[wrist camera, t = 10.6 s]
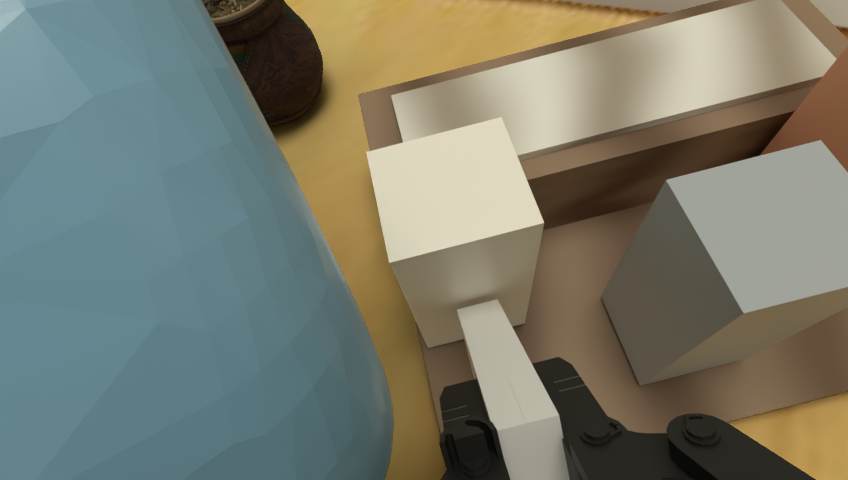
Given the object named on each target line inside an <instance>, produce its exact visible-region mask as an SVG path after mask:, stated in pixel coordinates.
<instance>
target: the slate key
mask: <svg viewBox="0 0 848 480" xmlns="http://www.w3.org/2000/svg"><path fill="white" fill-rule="evenodd" d="M601 298H602V300H603V302H604V305H605V307H606V309H607V311H608V314H609V316H610V318H611V321H612V323H613V325H614V328H615V330H616V332H617V334H618V337H619V339H620V341H621V344H622V346H623V348H624V351H625V353H626V355H627V358H628V360H629V362H630V364H631V367H632V369H633V371H634V374H635V376H636V378H637V381H638V383H639V385H640V386H641V385H645V384H649V383H653V382H657V381H661V380H665V379H669V378H673V377H677V376H681V375H685V374H689V373H693V372H696V371H700V370H704V369H708V368H712V367H716V366H720V365H724V364H728V363H732V362H736V361H740V360H744V359H747V358H749V357H751V356H753V355H755V354H757V353H759V352H760V351H762V350H764V349H766V348H768V347H770V346H772V345H774V344H776V343H778V342H780V341H782V340H784V339H786V338H788V337H790V336H792V335H794V334H796V333H798V332H800V331H802V330H803V329H805V328H807V327H809V326H811V325H813V324H815V323H817V322H819V321H821V320H823V319H825V318H827V317H829V316H831V315H833V314H835V313H837V312H839V311H841V310H843V309H844V308H846V307H848V172H847V171H846V170H845V169H844V168H843V166H842V165H841V164H840V163H839V161H838V160H837V159H836V158H835V157H834V155H833V154H832V153H831V152H830V150H829V149H828V148H827V147H826V146H825V144H824V143H823V142H822V141H821V140H819V141H815V142H811V143H807V144H803V145H799V146H796V147H792V148H788V149H784V150H780V151H776V152H772V153H768V154H765V155H761V156H757V157H753V158H749V159H745V160H741V161H737V162H734V163H730V164H726V165H722V166H718V167H714V168H710V169H706V170H702V171H699V172H695V173H691V174H687V175H683V176H679V177H675V178H671V179H668V180H666V181H665V183H664V184H663V186H662V188H661V190H660V192H659V193H658V195H657V197H656V199H655V200H654V202H653V204H652V206H651V208H650V209H649V211H648V213H647V215H646V216H645V218H644V220H643V222H642V224H641V225H640V227H639V229H638V231H637V232H636V234H635V236H634V238H633V240H632V241H631V243H630V245H629V247H628V248H627V250H626V252H625V254H624V256H623V257H622V259H621V261H620V263H619V264H618V266H617V268H616V270H615V272H614V273H613V275H612V277H611V279H610V280H609V282H608V284H607V286H606V288H605V289H604V291H603V293H602V295H601Z"/></svg>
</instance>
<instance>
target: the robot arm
mask: <svg viewBox="0 0 848 480" xmlns="http://www.w3.org/2000/svg"><path fill="white" fill-rule="evenodd" d="M457 312H458V316H459V320H460V324H461V328H462V332H463V336H464V340H465V344H466V348H467V352H468V356H469V360H470V364H471V368H472V372H473V376H474V380H470V381H466V382H462V383H458V384H454V385H450V386H446V387H444V389H443V391H442V394H441V396H440V398H439V400H440V407H441V414H442V420H443V427H444V431H443V432H442V434H441V435H440V443H439V444H440V447H441V451H442V454H443V458H444V461H445V465H446V468H447V470H446V473H445V474H444V476H443V477H442V479H441V480H815V479H814V478H812V477H811V476H809V475H808V474H806V473H805V472H803V471H801V470H800V469H798V468H797V467H795V466H794V465H792V464H791V463H789V462H787V461H786V460H784V459H783V458H781V457H780V456H778V455H777V454H775V453H773V452H772V451H770V450H769V449H767V448H766V447H764V446H762V445H761V444H759V443H758V442H756V441H755V440H753V439H752V438H750V437H748V436H747V435H745V434H744V433H742V432H741V431H739V430H738V429H736V428H734V427H733V426H731V425H730V424H728V423H727V422H725V421H723V420H721V419H718V418H716V417H714V416H710V415H706V414H701V413H693V414H684V415H681V416H677V417H676V418H674V419H673V420H672V421H670V422H669V424H668V427H667V429H666V431H667V433H638V432H633V431H629V430H627V429H626V428H625V427H624V426H623V425H622V424H621V423H620V422H619V421H617V420H615V419H613V418H610V417H608V416H607V415H606V413H605V412H604V410H603V409H602V408H601V406H600V405H599V403H598V402H597V400H596V399H595V397H594V396H593V394H592V393H591V391H590V390H589V389H588V387H587V386H586V385H585V383H584V381H583V380H582V378H581V377H580V376H579V374H578V373H577V371H576V370H575V368H574V367H573V365H572V364H571V363H569V362H567V361H565V360H564V359H562V358H560V357H556V358H552V359H548V360H544V361H540V362H536V363H531V361H530V360H529V358H528V356H527V354H526V352H525V350H524V348H523V346H522V344H521V343H520V341H519V339H518V337H517V335H516V333H515V331H514V329H513V328H512V326H511V324H510V322H509V320H508V318H507V316H506V314H505V313H504V311H503V309H502V307H501V305H500V303H499V301H498V299H496V300H492V301H488V302H484V303H481V304H477V305H473V306H469V307H465V308H461V309H457ZM393 428H394V420H393V408H392V401H391V396H390V392H389V387H388V383H387V380H386V376H385V372H384V369H383V366H382V363H381V361H380V358H379V356H378V353H377V351H376V348H375V346H374V343H373V341H372V338H371V336H370V334H369V331H368V329H367V327H366V324H365V322H364V320H363V317H362V315H361V313H360V310H359V308H358V306H357V303H356V301H355V299H354V297H353V295H352V293H351V291H350V289H349V286H348V284H347V282H346V280H345V278H344V276H343V274H342V271H341V269H340V267H339V265H338V263H337V261H336V259H335V257H334V255H333V253H332V251H331V249H330V247H329V245H328V243H327V241H326V239H325V237H324V235H323V233H322V231H321V229H320V227H319V225H318V223H317V220H316V218H315V216H314V214H313V212H312V210H311V208H310V206H309V204H308V202H307V200H306V198H305V196H304V194H303V192H302V190H301V188H300V186H299V184H298V182H297V180H296V178H295V176H294V174H293V172H292V170H291V169H290V167H289V165H288V163H287V161H286V159H285V157H284V155H283V153H282V151H281V149H280V147H279V145H278V143H277V142H276V140H275V138H274V136H273V134H272V132H271V130H270V128H269V126H268V124H267V122H266V120H265V118H264V116H263V114H262V113H261V111H260V109H259V107H258V105H257V103H256V101H255V99H254V97H253V95H252V93H251V91H250V90H249V88H248V86H247V84H246V82H245V80H244V78H243V77H242V75H241V73H240V71H239V69H238V67H237V65H236V64H235V62H234V60H233V58H232V56H231V54H230V52H229V50H228V49H227V47H226V45H225V43H224V41H223V39H222V37H221V36H220V34H219V32H218V30H217V28H216V26H215V24H214V22H213V21H212V19H211V17H210V15H209V13H208V11H207V9H206V8H205V6H204V4H203V2H202V0H0V480H385V477H386V473H387V470H388V466H389V462H390V457H391V452H392V441H393Z"/></svg>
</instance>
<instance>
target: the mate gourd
mask: <svg viewBox="0 0 848 480" xmlns="http://www.w3.org/2000/svg"><path fill="white" fill-rule="evenodd" d="M202 2H203V4H204V6H205V8H206V9H207V11H208V13H209V15H210V17H211V19H212V21H213V22H214V24H215V26H216V28H217V30H218V32H219V34H220V36H221V37H222V39H223V41H224V43H225V45H226V47H227V49H228V50H229V52H230V54H231V56H232V58H233V60H234V62H235V64H236V65H237V67H238V69H239V71H240V73H241V75H242V77H243V78H244V80H245V82H246V84H247V86H248V88H249V90H250V91H251V93H252V95H253V97H254V99H255V101H256V103H257V105H258V107H259V109H260V111H261V113H262V114H263V116H264V118H265V120H266V122H267V124H268V125H277V124H282V123H286V122H288V121H291V120H293V119H295V118H297V117H298V116H300V115H302V114H303V113H304V112H306V111H307V110H308V109H309V108H310V107H311V106H312V105H313V104H314V102H315V101H316V99H317V98H318V96H319V94H320V91H321V90H320V88H321V82H322V74H323V72H322V71H323V61H322V55H321V52H320V50H319V47H318V44H317V42H316V39H315V37H314V35H313V34H312V31H311V29H310V28H308V26H307V24H306V23H305V22H304V21H303V20H302V19H301V18H300V17H299V16H298V15H297V14H296V13H295V12H294V11H293V10H292V9H291V8H290V7H289V6H288V5H287V4H286V3H285V1H284V0H202Z"/></svg>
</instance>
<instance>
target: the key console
mask: <svg viewBox="0 0 848 480" xmlns="http://www.w3.org/2000/svg"><path fill="white" fill-rule="evenodd" d="M847 46H848V39H847V38H846V37H845V36H844V35H843V34H842V33H841V32H840V31H839V30H838V29H837V28H836V27H835V26H834V25H833V24H832V23H831V22H830V21H829V20H828V19H827V18H826V17H825V16H824V15H823V14H822V13H821V12H820V11H819V10H818V9H817V8H816V7H815V6H814V5H813V4H812V3H811V2H810V1H809V0H719V1H715V2H711V3H707V4H703V5H700V6H696V7H692V8H688V9H685V10H681V11H676V12H673V13H669V14H665V15H661V16H657V17H654V18H650V19H646V20H642V21H638V22H634V23H631V24H627V25H623V26H619V27H615V28H611V29H608V30H604V31H600V32H596V33H592V34H588V35H585V36H581V37H577V38H573V39H569V40H565V41H562V42H558V43H554V44H550V45H546V46H542V47H539V48H535V49H531V50H527V51H523V52H519V53H516V54H512V55H508V56H504V57H500V58H496V59H493V60H489V61H485V62H481V63H477V64H473V65H470V66H466V67H462V68H458V69H454V70H450V71H447V72H443V73H439V74H435V75H431V76H427V77H424V78H420V79H416V80H412V81H408V82H404V83H401V84H397V85H393V86H389V87H385V88H381V89H378V90H374V91H370V92H366V93H362V94H358V97H359V102H360V106H361V111H362V116H363V121H364V125H365V130H366V135H367V139H368V144H369V149H370V151H372V150H376V149H380V148H384V147H388V146H392V145H395V144H399V143H403V142H407V141H411V140H415V139H418V138H422V137H426V136H430V135H434V134H438V133H442V132H445V131H449V130H453V129H457V128H461V127H465V126H468V125H472V124H476V123H480V122H484V121H488V120H492V119H495V118H499V117H502V119H503V122H504V124H505V127H506V129H507V132H508V134H509V137H510V139H511V142H512V144H513V147H514V149H515V152H516V154H517V157H518V159H519V162H520V164H521V166H522V169H523V171H524V174H525V176H526V179H527V181H528V184H529V186H530V189H531V191H532V194H533V196H534V199H535V201H536V204H537V206H538V209H539V211H540V214H541V216H542V218H543V221H544V227H543V232H542V237H541V242H540V247H539V253H538V258H537V263H536V268H535V273H534V278H533V283H532V288H531V294H530V299H529V304H528V309H527V314H526V319H525V323H524V324H521V325H517V326H513V327H512V328H513V329H514V331H515V333H516V335H517V337H518V339H519V341H520V343H521V344H522V346H523V348H524V350H525V352H526V354H527V356H528V358H529V360H530V361H531V363H536V362H540V361H544V360H548V359H552V358H556V357H560V358H562V359H564V360H565V361H567V362H569V363H571V364H572V365H573V367H574V368H575V370H576V371H577V373H578V374H579V376H580V377H581V378H582V380H583V381H584V383H585V385H586V386H587V387H588V389H589V390H590V391H591V393H592V394H593V396H594V397H595V399H596V400H597V402H598V403H599V405H600V406H601V408H602V409H603V410H604V412H605V413H606V415H607V416H608V417H610V418H613V419H615V420H617V421H619V422H620V423H621V424H622V425H623V426H624V427H625V428H626V429H627V430H629V431H633V432H638V433H667V431H666V429H667V427H668V424H669V422H670V421H672V420H673V419H674V418H676V417H677V416H681V415H684V414H693V413H701V414H706V415H710V416H714V417H716V418H718V419H721V420H723V421H725V422H730V421H734V420H738V419H741V418H745V417H749V416H753V415H757V414H761V413H765V412H769V411H773V410H777V409H781V408H785V407H789V406H793V405H797V404H801V403H805V402H809V401H813V400H817V399H821V398H824V397H828V396H832V395H836V394H840V393H844V392H848V307H846V308H844V309H843V310H841V311H839V312H837V313H835V314H833V315H831V316H829V317H827V318H825V319H823V320H821V321H819V322H817V323H815V324H813V325H811V326H809V327H807V328H805V329H803V330H802V331H800V332H798V333H796V334H794V335H792V336H790V337H788V338H786V339H784V340H782V341H780V342H778V343H776V344H774V345H772V346H770V347H768V348H766V349H764V350H762V351H760V352H759V353H757V354H755V355H753V356H751V357H749V358H747V359H744V360H740V361H736V362H732V363H728V364H724V365H720V366H716V367H712V368H708V369H704V370H700V371H696V372H693V373H689V374H685V375H681V376H677V377H673V378H669V379H665V380H661V381H657V382H653V383H649V384H645V385H641V386H640V385H639V383H638V381H637V378H636V376H635V374H634V371H633V369H632V367H631V364H630V362H629V360H628V358H627V355H626V353H625V351H624V348H623V346H622V344H621V341H620V339H619V337H618V334H617V332H616V330H615V328H614V325H613V323H612V321H611V318H610V316H609V314H608V311H607V309H606V307H605V305H604V302H603V300H602V298H601V295H602V293H603V291H604V289H605V288H606V286H607V284H608V282H609V280H610V279H611V277H612V275H613V273H614V272H615V270H616V268H617V266H618V264H619V263H620V261H621V259H622V257H623V256H624V254H625V252H626V250H627V248H628V247H629V245H630V243H631V241H632V240H633V238H634V236H635V234H636V232H637V231H638V229H639V227H640V225H641V224H642V222H643V220H644V218H645V216H646V215H647V213H648V211H649V209H650V208H651V206H652V204H653V202H654V200H655V199H656V197H657V195H658V193H659V192H660V190H661V188H662V186H663V184H664V183H665V181H666V180H668V179H671V178H675V177H679V176H683V175H687V174H691V173H695V172H699V171H702V170H706V169H710V168H714V167H718V166H722V165H726V164H730V163H734V162H737V161H741V160H745V159H749V158H753V157H757V156H759V155H760V154H761V153H762V152H763V151H764V149H765V148H766V147H767V146H768V144H769V143H770V142H771V141H772V139H773V138H774V137H775V136H776V134H777V133H778V132H779V131H780V129H781V128H782V127H783V126H784V124H785V123H786V122H787V121H788V119H789V118H790V117H791V116H792V114H793V113H794V112H795V111H796V109H797V108H798V107H799V106H800V104H801V103H802V102H803V101H804V99H805V98H806V97H807V96H808V94H809V93H810V92H811V91H812V89H813V88H814V87H815V86H816V84H817V83H818V82H819V81H820V79H821V78H822V77H823V76H824V74H825V73H826V72H827V71H828V69H829V68H830V67H831V66H832V64H833V63H834V62H835V61H836V59H837V58H838V57H839V56H840V54H841V53H842V52H843V51H844V49H845V48H846V47H847ZM416 325H417V323H416ZM417 329H418V334H419V338H420V343H421V347H422V352H423V356H424V361H425V365H426V370H427V374H428V379H429V383H430V388H431V393H432V397H433V402H434V406H435V411H436V415H437V420H438V424H439V429H440V433H441V434H442V432H443V431H444V427H443V420H442V414H441V407H440V400H439V398H440V396H441V394H442V391H443V389H444V387H446V386H450V385H454V384H458V383H462V382H466V381H470V380H474V376H473V372H472V368H471V364H470V360H469V356H468V352H467V348H466V344H465V340H464V339H462V340H458V341H454V342H450V343H446V344H442V345H438V346H435V347H431V348H428V347H427V345H426V342H425V340H424V338H423V336H422V334H421V332H420V329H419V327H418V325H417Z"/></svg>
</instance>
